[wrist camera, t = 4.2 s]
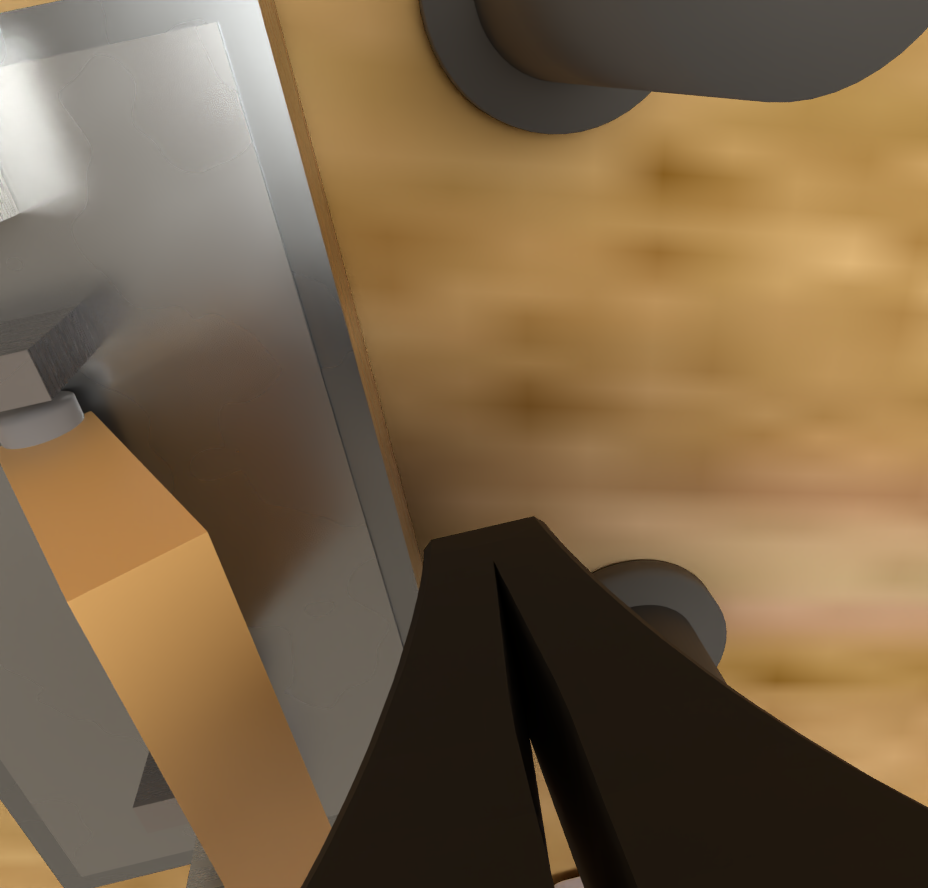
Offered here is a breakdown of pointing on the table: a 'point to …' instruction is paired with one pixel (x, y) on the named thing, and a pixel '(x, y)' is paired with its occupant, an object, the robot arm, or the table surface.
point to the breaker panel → (186, 400)
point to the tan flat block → (168, 641)
